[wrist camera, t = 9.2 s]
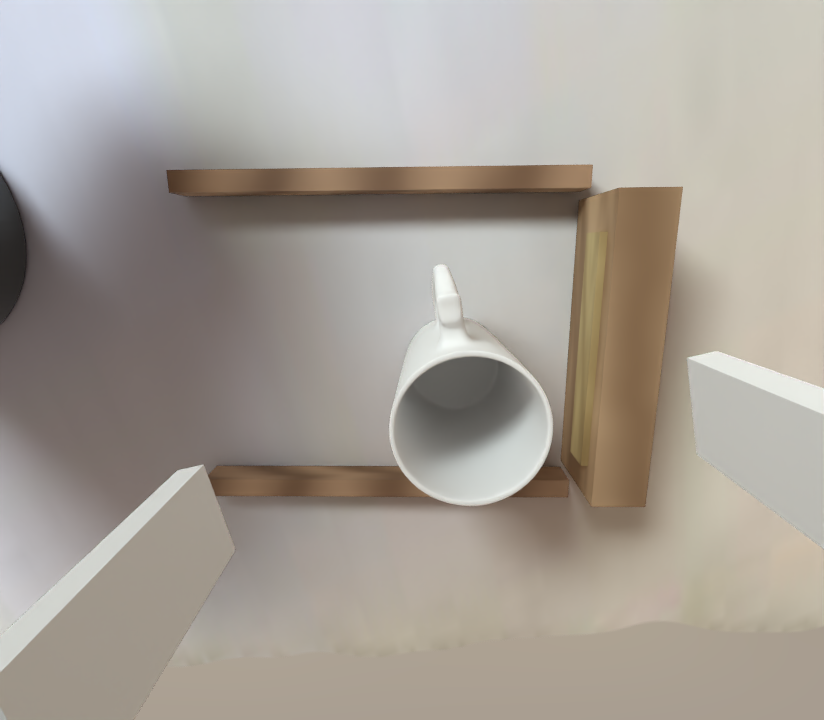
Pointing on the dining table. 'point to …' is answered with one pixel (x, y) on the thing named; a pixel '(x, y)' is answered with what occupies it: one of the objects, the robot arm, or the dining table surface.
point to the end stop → (618, 340)
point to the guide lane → (369, 182)
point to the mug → (466, 409)
